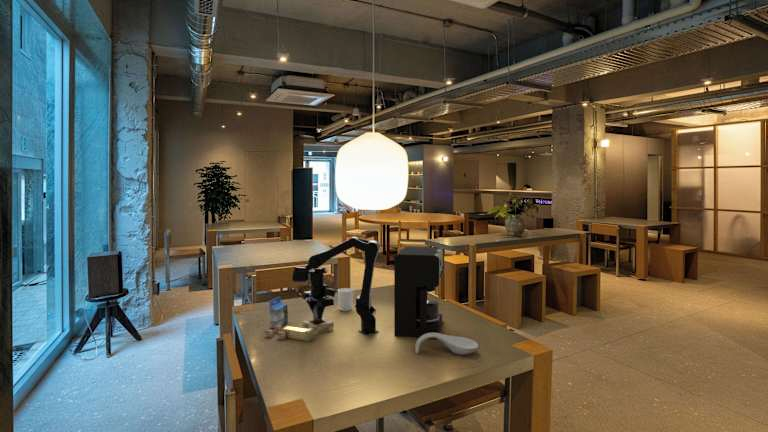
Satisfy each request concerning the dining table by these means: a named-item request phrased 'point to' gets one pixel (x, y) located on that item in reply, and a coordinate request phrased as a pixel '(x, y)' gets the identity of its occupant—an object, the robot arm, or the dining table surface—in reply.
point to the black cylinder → (316, 317)
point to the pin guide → (276, 329)
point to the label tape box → (278, 312)
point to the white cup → (345, 299)
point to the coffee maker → (417, 291)
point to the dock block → (318, 325)
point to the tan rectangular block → (299, 333)
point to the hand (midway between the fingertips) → (317, 317)
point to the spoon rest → (450, 343)
